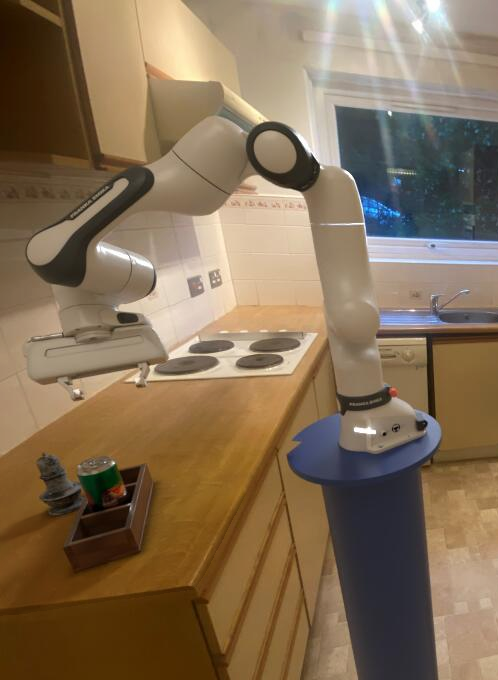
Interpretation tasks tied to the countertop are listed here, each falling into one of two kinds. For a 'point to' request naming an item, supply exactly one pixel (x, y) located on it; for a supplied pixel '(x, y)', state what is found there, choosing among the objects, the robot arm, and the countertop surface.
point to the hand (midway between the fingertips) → (111, 393)
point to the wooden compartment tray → (111, 524)
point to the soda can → (102, 483)
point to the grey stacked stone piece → (58, 486)
